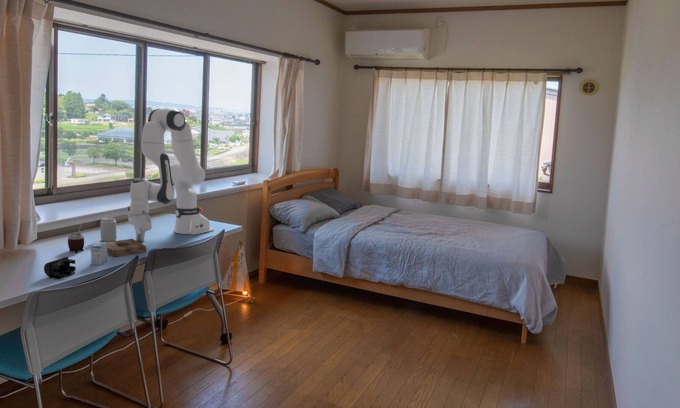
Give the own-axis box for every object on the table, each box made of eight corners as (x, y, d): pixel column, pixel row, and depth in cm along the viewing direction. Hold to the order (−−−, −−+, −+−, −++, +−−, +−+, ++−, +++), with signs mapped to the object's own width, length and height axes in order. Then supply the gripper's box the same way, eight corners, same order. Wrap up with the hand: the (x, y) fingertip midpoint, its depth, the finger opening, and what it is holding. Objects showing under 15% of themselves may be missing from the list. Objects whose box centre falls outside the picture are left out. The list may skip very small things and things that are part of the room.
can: (110, 243, 271) (110, 220, 269) (97, 241, 273) (97, 218, 270) (119, 239, 279) (119, 217, 276) (106, 238, 280) (106, 216, 278)
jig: (132, 244, 271) (132, 238, 271) (146, 251, 260) (146, 245, 260) (100, 248, 260) (100, 243, 260) (113, 256, 249) (112, 250, 249)
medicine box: (97, 259, 244) (97, 241, 242) (107, 260, 244) (107, 241, 243) (91, 264, 236) (90, 246, 234) (101, 265, 236) (100, 246, 235)
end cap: (63, 270, 226) (62, 255, 225) (76, 273, 224) (76, 257, 223) (43, 277, 217) (43, 261, 216) (57, 280, 215) (57, 264, 214)
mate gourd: (69, 249, 257) (67, 219, 254) (86, 248, 260) (86, 218, 257) (67, 253, 250) (66, 222, 247) (85, 252, 253) (84, 222, 250)
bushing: (142, 239, 280) (142, 225, 278) (145, 241, 277) (145, 226, 275) (134, 240, 277) (134, 226, 275) (138, 242, 274) (137, 227, 273)
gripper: (154, 212, 269) (155, 238, 271) (137, 205, 283) (137, 230, 286) (142, 213, 264) (143, 240, 267) (125, 206, 278) (126, 232, 281)
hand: (140, 235), depth 276 cm, fingers closed on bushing, 4 cm apart
